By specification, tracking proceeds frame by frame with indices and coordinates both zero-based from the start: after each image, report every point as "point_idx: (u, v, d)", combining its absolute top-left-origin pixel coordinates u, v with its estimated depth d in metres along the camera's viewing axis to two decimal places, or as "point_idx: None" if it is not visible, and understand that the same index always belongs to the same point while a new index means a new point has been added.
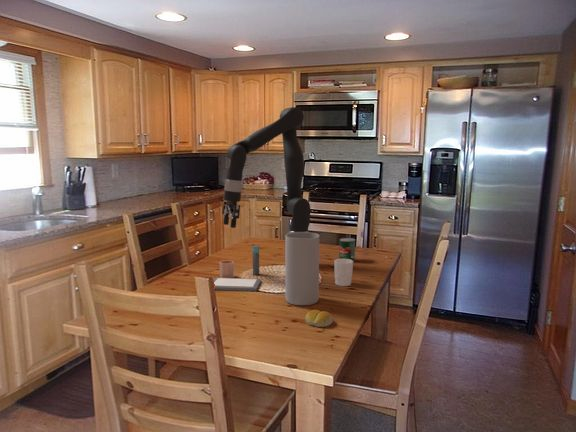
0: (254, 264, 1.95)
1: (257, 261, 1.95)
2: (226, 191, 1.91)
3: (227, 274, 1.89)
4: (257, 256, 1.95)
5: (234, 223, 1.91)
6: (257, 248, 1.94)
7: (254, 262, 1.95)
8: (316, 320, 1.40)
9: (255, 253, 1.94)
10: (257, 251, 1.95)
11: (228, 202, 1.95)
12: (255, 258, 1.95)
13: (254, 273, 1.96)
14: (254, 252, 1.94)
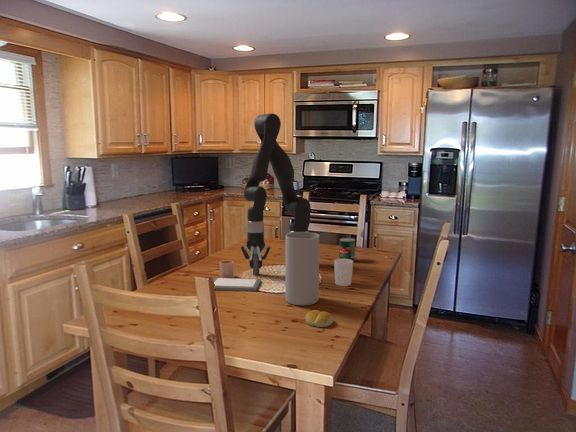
0: (254, 264, 1.95)
1: (257, 261, 1.95)
2: (256, 233, 1.91)
3: (227, 274, 1.89)
4: (257, 256, 1.95)
5: None
6: None
7: (254, 262, 1.95)
8: (316, 321, 1.39)
9: (255, 253, 1.94)
10: None
11: (252, 243, 1.94)
12: (255, 258, 1.95)
13: (254, 273, 1.96)
14: (254, 252, 1.94)
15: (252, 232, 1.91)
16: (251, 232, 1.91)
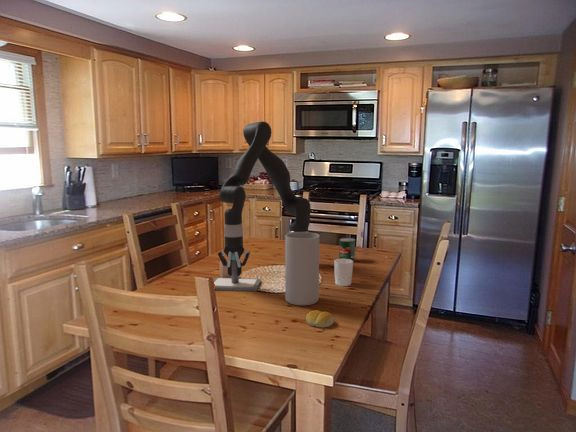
0: (233, 271, 1.79)
1: (236, 268, 1.79)
2: (234, 238, 1.74)
3: (227, 274, 1.89)
4: (236, 263, 1.78)
5: (241, 270, 1.80)
6: None
7: (233, 269, 1.78)
8: (317, 321, 1.39)
9: (234, 259, 1.78)
10: None
11: (230, 248, 1.78)
12: (234, 265, 1.78)
13: (233, 281, 1.79)
14: (232, 258, 1.78)
15: (229, 236, 1.74)
16: (228, 236, 1.74)
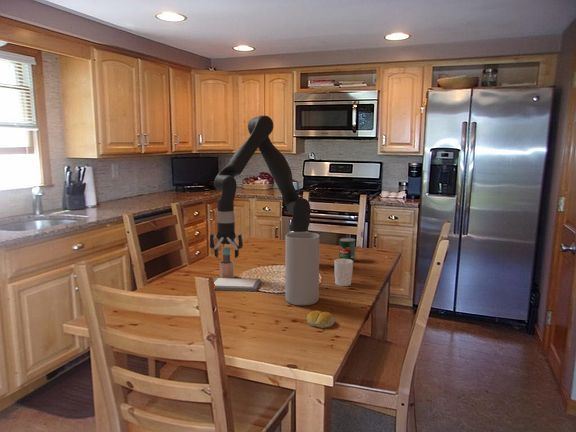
0: None
1: None
2: (226, 224, 1.85)
3: (227, 274, 1.89)
4: (228, 258, 1.90)
5: (238, 253, 1.91)
6: (228, 249, 1.89)
7: None
8: (318, 321, 1.39)
9: (226, 254, 1.90)
10: (228, 252, 1.90)
11: (223, 234, 1.89)
12: (226, 259, 1.90)
13: None
14: (225, 253, 1.90)
15: (222, 222, 1.85)
16: (221, 222, 1.85)
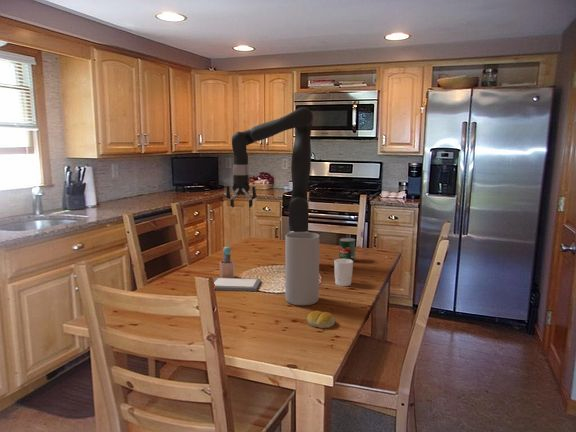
0: None
1: None
2: (242, 175, 2.06)
3: (227, 274, 1.89)
4: (228, 257, 1.90)
5: (252, 203, 2.11)
6: (228, 249, 1.90)
7: (225, 263, 1.90)
8: (318, 321, 1.39)
9: (226, 254, 1.90)
10: (228, 252, 1.90)
11: (238, 186, 2.09)
12: (226, 259, 1.90)
13: None
14: (225, 253, 1.90)
15: (237, 174, 2.06)
16: (236, 174, 2.06)
